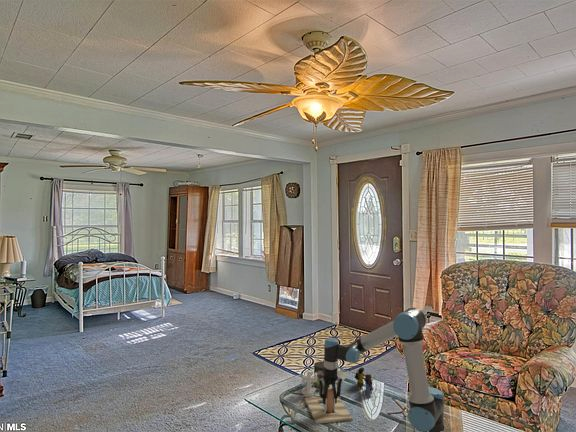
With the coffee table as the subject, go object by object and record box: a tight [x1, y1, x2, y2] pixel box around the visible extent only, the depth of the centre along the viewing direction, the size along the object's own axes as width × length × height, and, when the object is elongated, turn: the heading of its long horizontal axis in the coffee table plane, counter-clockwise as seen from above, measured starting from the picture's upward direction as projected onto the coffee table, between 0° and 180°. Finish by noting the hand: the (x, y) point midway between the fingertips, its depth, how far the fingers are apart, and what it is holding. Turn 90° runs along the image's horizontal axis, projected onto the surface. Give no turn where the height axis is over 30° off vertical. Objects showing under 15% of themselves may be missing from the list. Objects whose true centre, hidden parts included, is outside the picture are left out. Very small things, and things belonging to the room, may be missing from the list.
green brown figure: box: [312, 361, 331, 391], centre depth 239 cm, size 10×10×14 cm
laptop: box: [322, 359, 350, 384], centre depth 254 cm, size 18×12×13 cm
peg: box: [325, 387, 334, 414], centre depth 209 cm, size 4×4×12 cm
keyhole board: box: [304, 396, 354, 425], centre depth 212 cm, size 24×20×2 cm
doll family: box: [353, 367, 374, 398], centre depth 236 cm, size 23×9×13 cm, turn 23°
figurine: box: [301, 370, 317, 398], centre depth 227 cm, size 7×9×15 cm
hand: (329, 409), depth 209 cm, fingers closed on peg, 4 cm apart
